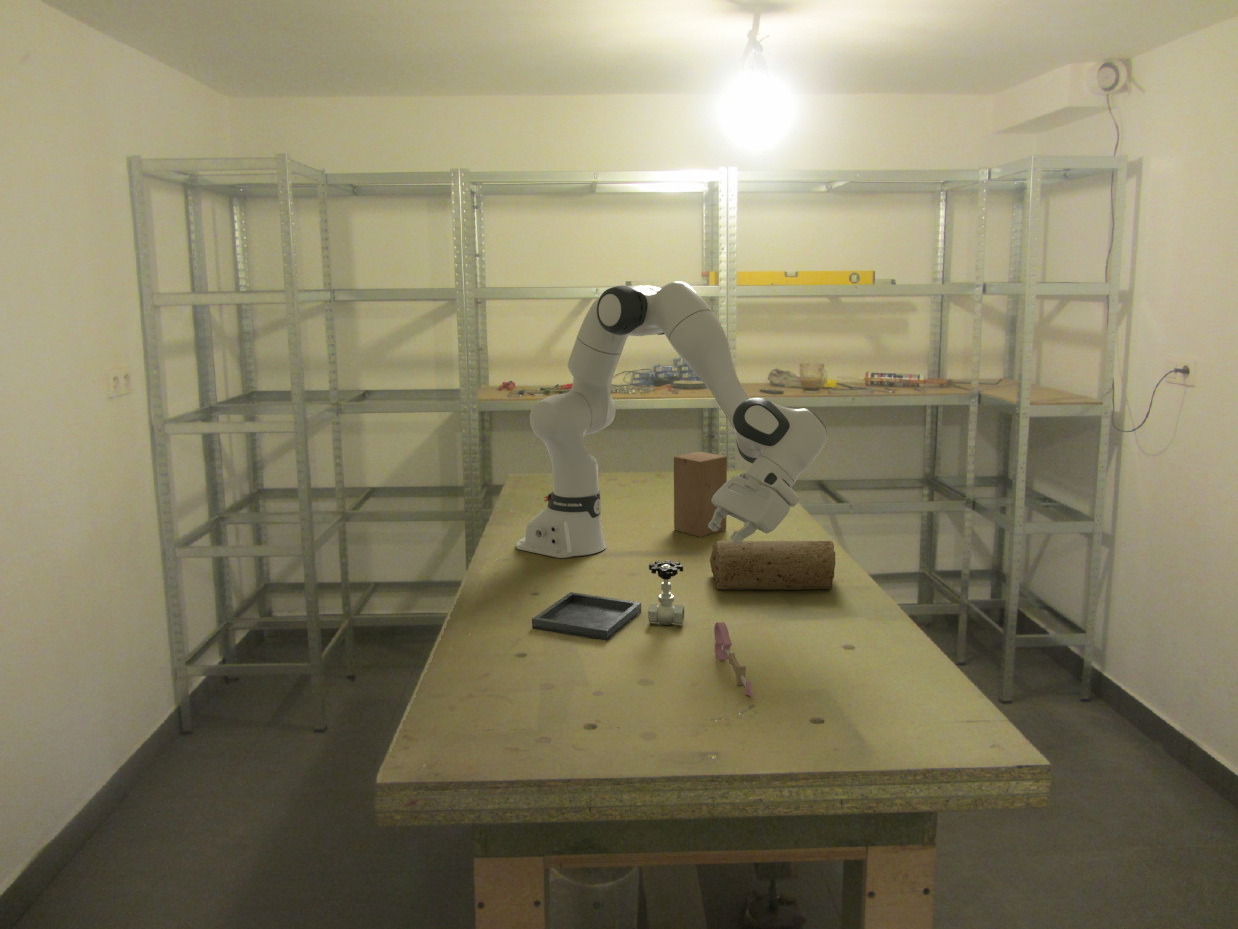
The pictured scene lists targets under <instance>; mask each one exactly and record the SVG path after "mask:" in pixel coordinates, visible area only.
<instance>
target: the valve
mask: <svg viewBox="0 0 1238 929" xmlns="http://www.w3.org/2000/svg"><path fill="white" fill-rule="evenodd" d="M648 570H649V571H651V574H653V575H654V574H657V576H658V577H659V578H661V580H662V582H661V583H660V590H661V591H662V592H661V594H658V596H657V597H658V600H657V601H658V602H659V604H658V603H649V605H648V610H647V621H648V623H655V624H656V623H658V624H661V625H664V626H668V625H669V626H670V625H673V624H675V625H683V624H684V622H685V621H684V620H685V606H684V605H681V604H679V605H676V604H675V605H674V604H673V603H674V601H675V596H674V595H673V594H672V593H671V590H672V583H671V582H670V580H671V579H672V578H673V577H675V576H677V575H678V573H679V572H681V573H682V572H683V571H684V565H682V564H681V562H680V561H675V562H672V560H670V559H665V560H664V561H662V562H661V561H660V560H655V561H654V563H649V564H648Z"/></svg>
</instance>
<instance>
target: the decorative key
mask: <svg viewBox="0 0 1238 929" xmlns="http://www.w3.org/2000/svg"><path fill="white" fill-rule="evenodd" d="M728 630H729V629H728V627H727V624H726V623H725V621H720V622H715V624H714V629H713V635H714V640H715V642H714V653H715V657H716V659H717V660H718V661H720V662H722V661H728V662H727V664H729V665H730V666H731V667H732V669H733V672H734V674H735V680H736V685H737V686H744V688H745V693H744V694H745V696H749V697H751V698H752V699H753V700H755V696H754V692H753V686H752V682H751V680H747V679H746V673H747V672H746V670H747V666H745V665H742V664H740V663H739V662H738V660H737V657H736V654H735V652H731V647H732V644H733V643H732V640H731V637H730V634H729V631H728Z"/></svg>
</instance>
